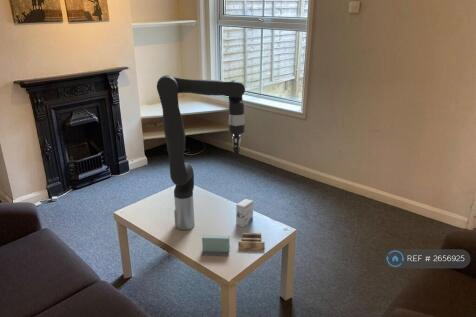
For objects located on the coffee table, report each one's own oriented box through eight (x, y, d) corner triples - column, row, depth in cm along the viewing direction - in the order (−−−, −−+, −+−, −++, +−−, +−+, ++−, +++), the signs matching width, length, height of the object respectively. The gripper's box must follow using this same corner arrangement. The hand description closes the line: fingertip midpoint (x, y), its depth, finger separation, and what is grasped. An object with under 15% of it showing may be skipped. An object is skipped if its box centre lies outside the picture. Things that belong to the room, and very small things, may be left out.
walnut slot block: (241, 243, 178) (241, 239, 177) (242, 237, 184) (242, 232, 183) (261, 244, 178) (261, 239, 177) (261, 237, 183) (261, 233, 182)
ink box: (245, 217, 202) (245, 197, 197) (253, 220, 199) (253, 200, 195) (235, 224, 195) (235, 204, 191) (243, 227, 192) (243, 206, 188)
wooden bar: (238, 249, 174) (238, 243, 173) (238, 248, 175) (238, 241, 174) (264, 250, 173) (264, 243, 172) (264, 248, 175) (264, 242, 174)
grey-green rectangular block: (202, 237, 170) (228, 238, 169) (202, 234, 172) (229, 235, 171) (202, 251, 172) (229, 251, 172) (203, 248, 175) (229, 248, 174)
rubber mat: (201, 255, 170) (201, 254, 170) (204, 245, 177) (204, 244, 177) (228, 256, 169) (228, 255, 169) (229, 246, 177) (229, 245, 176)
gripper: (229, 119, 189) (230, 150, 194) (227, 126, 175) (228, 159, 181) (245, 119, 188) (245, 150, 194) (243, 126, 175) (243, 159, 181)
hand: (236, 154), depth 187 cm, fingers open, 8 cm apart
